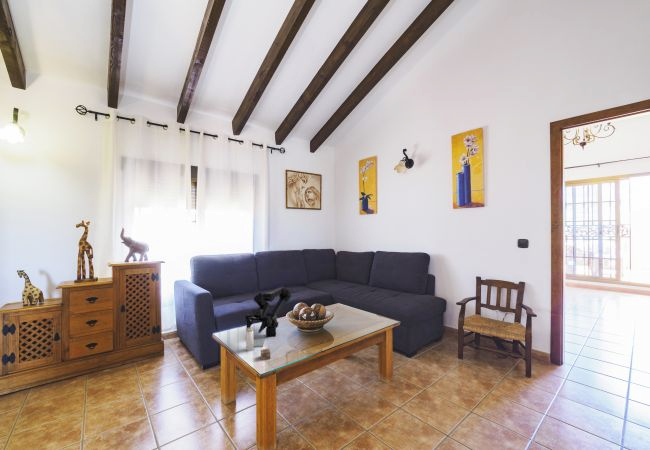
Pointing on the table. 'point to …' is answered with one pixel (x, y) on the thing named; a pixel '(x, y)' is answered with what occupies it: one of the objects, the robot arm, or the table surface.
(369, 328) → the table surface
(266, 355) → the walnut block
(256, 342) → the slate tile
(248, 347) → the jar
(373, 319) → the table surface
